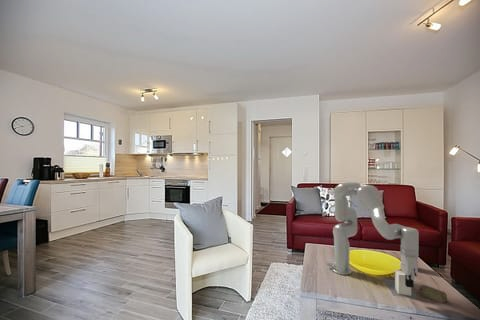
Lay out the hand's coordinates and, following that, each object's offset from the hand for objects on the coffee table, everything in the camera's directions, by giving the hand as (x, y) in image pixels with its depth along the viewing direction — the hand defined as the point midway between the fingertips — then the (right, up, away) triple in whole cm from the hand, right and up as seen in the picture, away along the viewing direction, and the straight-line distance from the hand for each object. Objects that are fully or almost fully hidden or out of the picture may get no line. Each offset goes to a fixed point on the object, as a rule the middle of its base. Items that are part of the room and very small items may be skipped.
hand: (409, 286), depth 123 cm
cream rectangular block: (+3, -8, +9) cm, 12 cm away
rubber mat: (+4, -8, +13) cm, 16 cm away
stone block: (+16, -9, +4) cm, 19 cm away
